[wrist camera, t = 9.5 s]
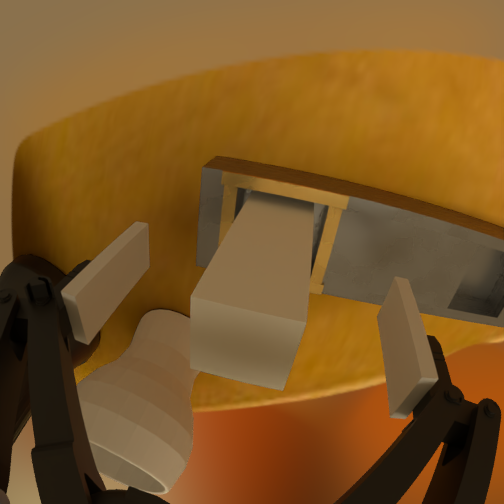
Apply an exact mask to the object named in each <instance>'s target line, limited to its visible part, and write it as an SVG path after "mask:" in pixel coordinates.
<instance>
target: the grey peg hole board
mask: <svg viewBox="0 0 504 504" xmlns="http://www.w3.org/2000/svg"><path fill="white" fill-rule="evenodd" d="M252 190H256V191H261V192H266V193H271V194H276V195H281V196H286V197H291V198H296V199H300V200H305V201H310V202H314V224H313V243H312V259H311V274H310V288H309V293H314V294H319V295H321V294H322V293H323V294H328V295H332V296H337V297H342V298H347V299H352V300H357V301H362V302H367V303H372V304H377V305H383V303H384V300H385V298H386V296H387V294H388V291H389V289H390V287H391V284H392V282H393V280H394V277H395V276H396V277H401V278H406V279H408V281H409V283H410V286H411V289H412V292H413V295H414V298H415V301H416V304H417V307H418V310H419V313H424V314H430V315H435V316H441V317H446V318H452V319H457V320H463V321H469V322H475V323H480V324H486V325H492V326H498V327H504V228H502V227H499V226H497V225H494V224H491V223H488V222H485V221H482V220H479V219H477V218H474V217H471V216H468V215H465V214H462V213H459V212H455V211H452V210H449V209H446V208H443V207H440V206H436V205H433V204H430V203H426V202H423V201H419V200H416V199H413V198H409V197H406V196H402V195H398V194H395V193H391V192H387V191H383V190H380V189H376V188H372V187H368V186H364V185H360V184H356V183H352V182H348V181H343V180H339V179H335V178H330V177H326V176H321V175H317V174H312V173H308V172H303V171H298V170H293V169H288V168H283V167H278V166H273V165H267V164H262V163H256V162H250V161H245V160H239V159H233V158H226V157H220V156H216V157H215V158H214V159H212V160H211V161H210V162H208V163H207V164H206V165H204V166H203V167H202V177H201V191H200V205H199V220H198V237H197V256H196V266H200V267H204V268H207V267H208V265H209V263H210V261H211V260H212V258H213V256H214V255H215V253H216V251H217V249H218V248H219V246H220V244H221V243H222V241H223V239H224V237H225V236H226V234H227V232H228V231H229V229H230V227H231V226H232V224H233V222H234V221H235V219H236V217H237V215H238V214H239V212H240V210H241V209H242V207H243V205H244V204H245V202H246V200H247V199H248V197H249V195H250V194H251V192H252Z"/></svg>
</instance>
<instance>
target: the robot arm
mask: <svg viewBox="0 0 504 504" xmlns="http://www.w3.org/2000/svg"><path fill="white" fill-rule="evenodd" d="M149 267H150V258H149V227H148V223H143V222H138V221H136V222H135V223H133V224H132V225H131V226H130V227H129V228H128V229H127V230H125V231H124V232H123V233H122V234H121V235H120V236H119V237H118V238H116V239H115V240H114V241H113V242H112V243H111V244H110V245H109V246H108V247H107V248H105V249H104V250H103V251H102V252H101V253H100V254H99V255H98V256H97V257H96V258H95V259H94V260H93V261H90V260H86V261H84V262H82V263H80V264H78V265H77V266H76V267H75V268H74V269H73V270H72V272H70V273H69V274H67V276H65V275H64V274H63V273H62V272H61V271H59V270H58V269H57V268H56V267H54V266H53V265H52V264H50V263H49V262H47V261H45V260H44V259H41V258H39V257H37V256H33V255H21V256H19V257H17V258H16V259H15V260H13V261H12V262H11V263H10V264H9V265H7V266H6V267H5V269H4V270H3V272H2V274H1V276H0V504H10V501H9V499H8V497H7V495H6V493H7V487H8V483H9V476H10V466H11V454H12V446H13V444H14V442H15V441H16V439H17V437H18V436H19V434H20V432H21V431H22V429H23V428H24V426H25V425H26V423H27V421H28V420H29V418H30V417H31V415H32V423H33V431H34V438H35V448H33V449H32V451H31V456H32V463H33V468H34V473H35V478H36V483H37V487H38V491H39V496H40V500H41V503H42V504H170V503H168V502H166V501H165V500H163V499H161V498H160V497H158V496H155V495H152V494H150V493H147V492H144V491H142V490H139V489H137V488H134V487H132V486H129V487H128V490H118V489H116V490H106V488H105V485H104V483H103V481H102V479H101V477H100V475H99V472H98V470H97V467H96V464H95V461H94V457H93V454H92V451H91V447H90V443H89V440H88V436H87V432H86V428H85V424H84V420H83V416H82V411H81V407H80V402H79V397H78V392H77V387H76V382H75V376H74V370H73V369H75V368H76V367H77V366H79V365H81V364H83V363H85V362H86V361H87V360H88V359H89V358H90V357H91V355H92V354H93V352H94V351H95V350H96V348H97V347H98V344H99V340H100V334H99V330H100V329H101V327H102V326H103V325H104V324H105V322H106V321H107V320H108V318H109V317H110V316H111V314H112V313H113V312H114V311H115V309H116V308H117V307H118V306H119V304H120V303H121V302H122V300H123V299H124V298H125V297H126V295H127V294H128V293H129V292H130V290H131V289H132V288H133V287H134V285H135V284H136V283H137V282H138V281H139V279H140V278H141V277H142V276H143V274H144V273H145V272H146V271H147V270H148V268H149ZM377 319H378V325H379V331H380V338H381V344H382V351H383V358H384V366H385V374H386V382H387V391H388V400H389V410H390V418H403V419H405V418H406V417H408V415H409V414H410V413H411V412H412V411H413V420H412V421H411V422H410V423H409V424H408V425H407V426H406V427H405V428H404V429H403V431H402V433H401V434H400V435H399V437H398V438H397V439H396V440H395V441H394V442H393V444H392V445H391V446H390V447H389V448H388V449H387V450H386V452H385V453H384V454H383V455H382V456H381V457H380V458H379V459H378V461H376V463H375V464H374V465H373V466H372V467H371V468H370V469H369V470H368V471H367V472H366V473H365V474H364V475H363V476H362V477H361V478H360V479H359V480H358V481H357V482H356V483H355V484H354V485H353V486H352V487H351V488H350V489H349V490H348V491H347V492H346V493H345V494H344V495H342V496H341V497H340V498H339V499H338V500H337V501H336V502H335V503H334V504H396V503H397V502H398V501H399V500H400V499H401V497H402V496H403V495H404V493H405V492H406V491H407V490H408V489H409V487H410V486H411V485H412V483H413V482H414V481H415V480H416V478H417V477H418V476H419V474H420V473H421V471H422V470H423V468H424V467H425V466H426V464H427V463H428V462H429V460H430V459H431V457H432V456H433V454H434V453H435V451H436V450H437V448H438V447H439V445H440V444H441V442H444V445H443V448H442V451H441V455H440V457H439V460H438V463H437V466H436V469H435V472H434V474H433V477H432V480H431V482H430V485H429V487H428V490H427V492H426V495H425V497H424V499H423V502H422V504H484V503H485V500H486V496H487V492H488V488H489V484H490V480H491V475H492V471H493V466H494V461H495V455H496V450H497V443H498V437H499V430H500V422H501V410H500V408H499V406H498V405H497V403H496V402H494V401H493V400H492V399H488V398H486V399H483V400H481V401H480V402H479V403H478V404H475V403H472V402H469V401H467V400H465V399H464V395H463V393H462V392H461V390H460V389H459V388H458V387H456V386H454V385H452V383H451V379H450V375H449V372H448V368H447V365H446V362H445V358H444V355H443V351H442V348H441V345H440V343H439V342H438V341H437V339H436V338H435V337H434V336H430V335H426V332H425V328H424V325H423V322H422V319H421V316H420V313H419V310H418V307H417V304H416V301H415V298H414V295H413V292H412V289H411V286H410V283H409V281H408V279H406V278H401V277H396V276H395V277H394V280H393V282H392V284H391V287H390V289H389V291H388V294H387V296H386V298H385V300H384V303H383V305H382V307H381V309H380V311H379V314H378V316H377Z"/></svg>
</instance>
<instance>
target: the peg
mask: <svg viewBox="0 0 504 504" xmlns="http://www.w3.org/2000/svg"><path fill="white" fill-rule="evenodd" d="M313 224H314V202H310V201H305V200H300V199H296V198H291V197H286V196H281V195H276V194H271V193H266V192H261V191H256V190H252V192H251V194H250V195H249V197H248V199H247V200H246V202H245V204H244V205H243V207H242V209H241V210H240V212H239V214H238V215H237V217H236V219H235V221H234V222H233V224H232V226H231V227H230V229H229V231H228V232H227V234H226V236H225V237H224V239H223V241H222V243H221V244H220V246H219V248H218V249H217V251H216V253H215V255H214V256H213V258H212V260H211V261H210V263H209V265H208V267H207V268H206V270H205V272H204V274H203V275H202V277H201V279H200V280H199V282H198V284H197V286H196V287H195V289H194V291H193V293H192V294H191V298H190V368H191V369H194V370H198V371H201V372H205V373H209V374H213V375H216V376H220V377H224V378H228V379H232V380H236V381H240V382H245V383H249V384H253V385H258V386H262V387H267V388H272V389H277V390H282V391H283V389H284V387H285V384H286V381H287V378H288V376H289V373H290V370H291V367H292V364H293V361H294V359H295V356H296V353H297V350H298V347H299V344H300V341H301V338H302V335H303V332H304V329H305V326H306V323H307V312H308V300H309V288H310V274H311V259H312V243H313Z"/></svg>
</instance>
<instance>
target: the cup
mask: <svg viewBox="0 0 504 504" xmlns="http://www.w3.org/2000/svg"><path fill="white" fill-rule="evenodd" d="M199 372H200V371H198V370H194V369H191V368H190V318H188V317H186V316H184V315H182V314H180V313H177V312H174V311H171V310H162V309H158V310H152V311H150V312H148V313H146V314H145V315H144V316H143V317H142V318H141V320H140V322H139V324H138V326H137V329H136V331H135V334H134V336H133V339H132V342H131V344H130V346H129V347H128V348H127V350H126V351H125V352H124V353H123V354H122V355H121V356H120V357H119V358H118V359H117V360H115V361H113V362H111V363H109V364H106V365H104V366H102V367H100V368H98V369H96V370H95V371H93V372H92V373H91V374H90V375H88V376H87V377H86V378H84V379H83V380H82V381H80V382H79V383H78V385H77V386H76V387H77V392H78V397H79V402H80V407H81V411H82V416H83V420H84V424H85V428H86V432H87V436H88V440H89V443H90V447H91V451H92V454H93V457H94V461H95V464H96V467H97V470H98V472H99V473H101V474H103V475H104V476H106V477H108V478H110V479H113V480H114V481H116V482H119V483H121V484H124V485H126V486H128V487H129V486H132V487H134V488H137V489H139V490H142V491H144V492H147V493H153V494H165V493H167V492H169V491H170V489H171V488H172V486H173V485H174V484H175V482H176V481H177V479H178V478H179V477H180V475H181V474H182V472H183V471H184V470H185V468H186V465H187V462H188V459H189V457H190V454H191V451H192V447H193V413H192V408H191V402H190V396H191V392H192V387H193V383H194V379H195V378H196V377H197V375H198V374H199Z"/></svg>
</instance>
